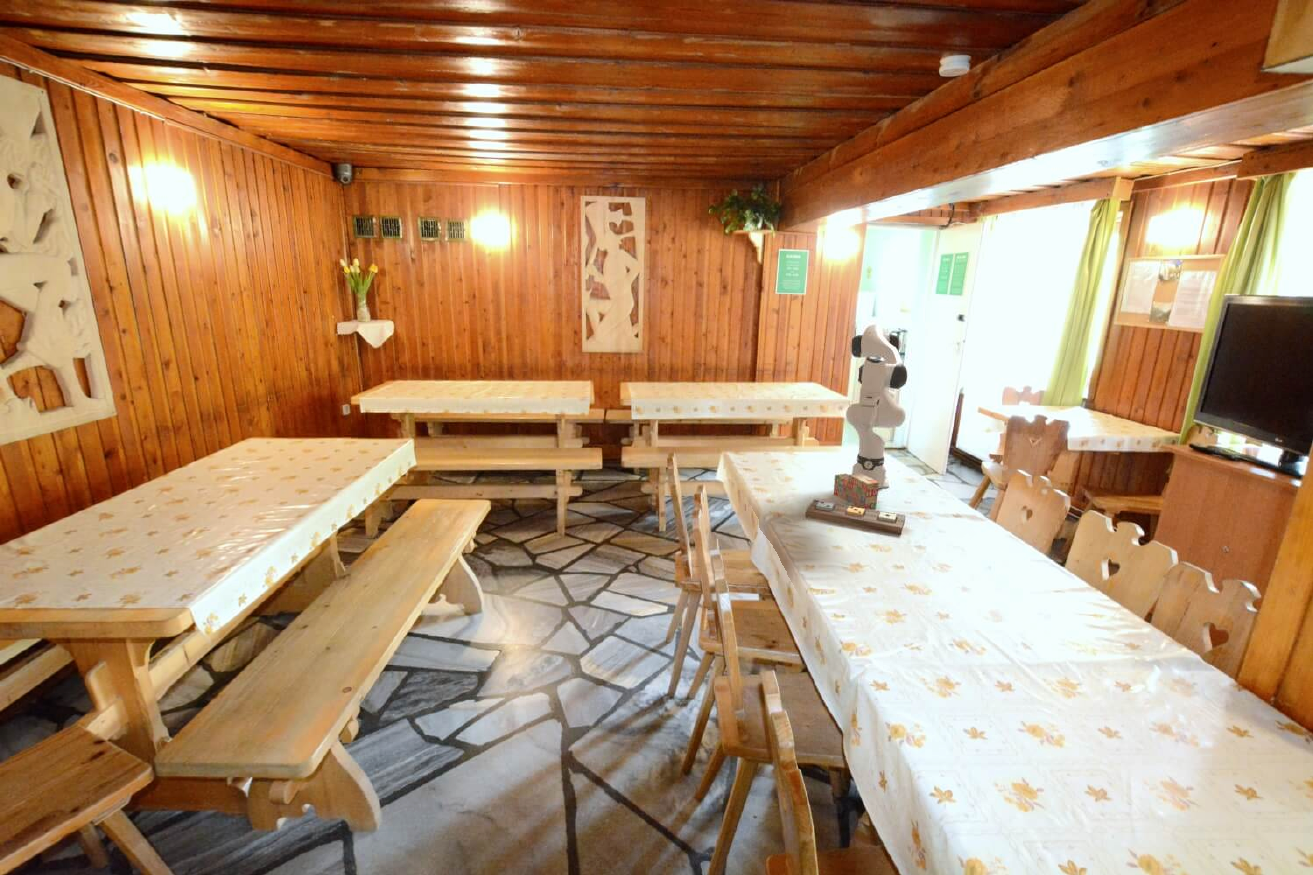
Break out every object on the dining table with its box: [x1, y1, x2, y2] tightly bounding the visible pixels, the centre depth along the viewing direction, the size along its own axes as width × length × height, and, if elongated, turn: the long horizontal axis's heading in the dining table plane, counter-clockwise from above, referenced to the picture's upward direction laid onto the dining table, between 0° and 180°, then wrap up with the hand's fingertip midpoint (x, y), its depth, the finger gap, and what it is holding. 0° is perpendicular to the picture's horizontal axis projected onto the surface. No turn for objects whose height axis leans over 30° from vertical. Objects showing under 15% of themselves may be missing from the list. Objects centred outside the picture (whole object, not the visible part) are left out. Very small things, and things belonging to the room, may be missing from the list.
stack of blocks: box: [833, 473, 880, 510], centre depth 252 cm, size 21×6×12 cm, turn 20°
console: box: [805, 499, 906, 535], centre depth 233 cm, size 14×36×3 cm, turn 62°
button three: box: [846, 505, 865, 517], centre depth 233 cm, size 6×6×4 cm
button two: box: [816, 500, 835, 512], centre depth 238 cm, size 6×6×4 cm
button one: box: [878, 511, 898, 523], centre depth 227 cm, size 6×6×4 cm
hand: (867, 431), depth 234 cm, fingers closed
